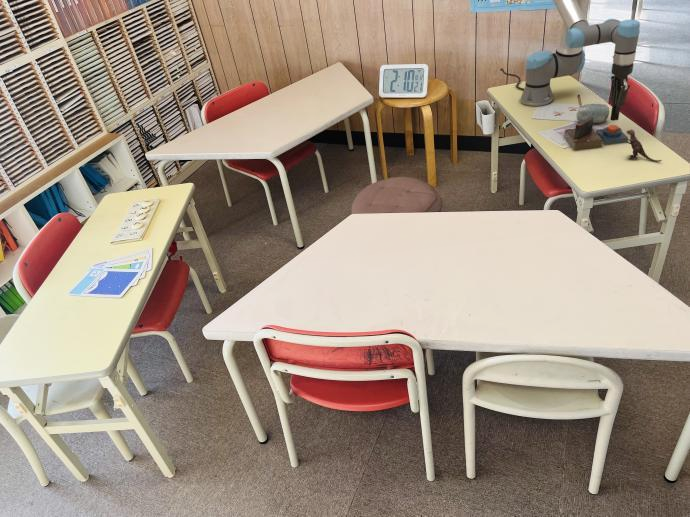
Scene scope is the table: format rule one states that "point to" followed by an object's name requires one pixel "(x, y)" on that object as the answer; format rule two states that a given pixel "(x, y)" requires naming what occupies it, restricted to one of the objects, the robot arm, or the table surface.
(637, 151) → the dinosaur model
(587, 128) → the pointer
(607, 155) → the table surface
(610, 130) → the button
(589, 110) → the grey striped ovoid
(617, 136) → the buzzer
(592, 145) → the dial console
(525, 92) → the robot arm
